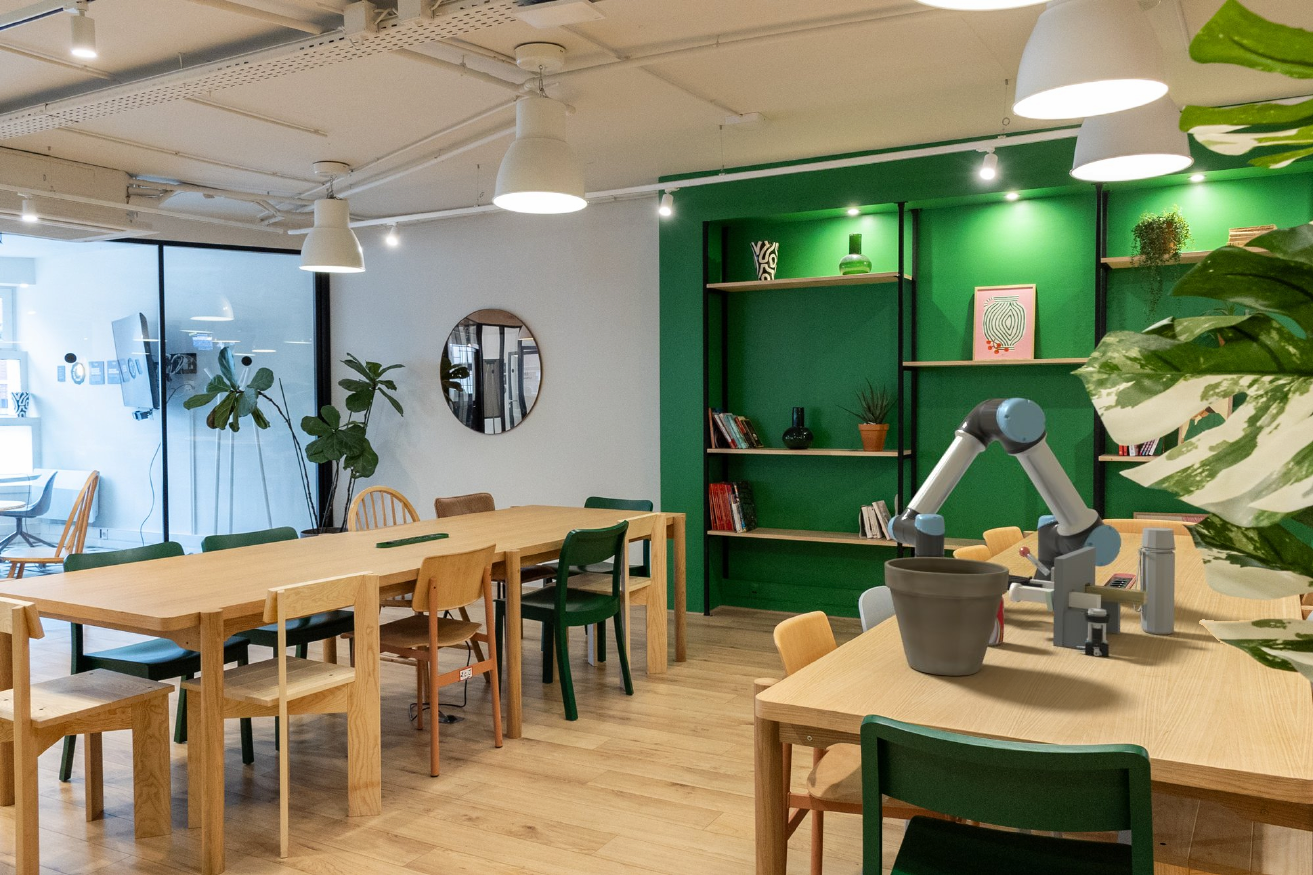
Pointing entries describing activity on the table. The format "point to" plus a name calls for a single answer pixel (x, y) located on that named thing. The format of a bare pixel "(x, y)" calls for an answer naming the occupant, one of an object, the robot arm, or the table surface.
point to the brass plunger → (1118, 594)
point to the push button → (1096, 632)
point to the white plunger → (1038, 594)
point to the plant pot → (945, 610)
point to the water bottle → (1157, 580)
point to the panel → (1073, 577)
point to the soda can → (998, 627)
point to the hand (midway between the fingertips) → (1057, 588)
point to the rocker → (1050, 600)
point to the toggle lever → (1033, 560)
